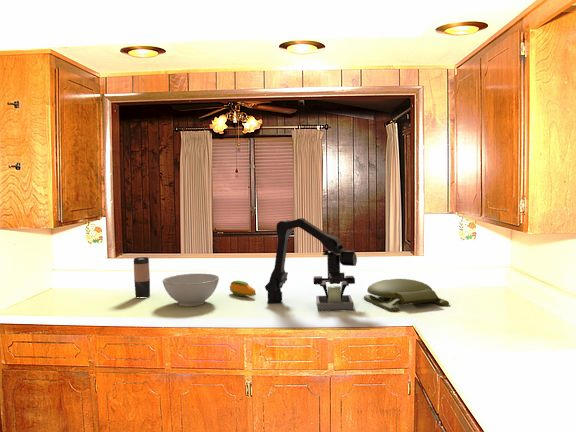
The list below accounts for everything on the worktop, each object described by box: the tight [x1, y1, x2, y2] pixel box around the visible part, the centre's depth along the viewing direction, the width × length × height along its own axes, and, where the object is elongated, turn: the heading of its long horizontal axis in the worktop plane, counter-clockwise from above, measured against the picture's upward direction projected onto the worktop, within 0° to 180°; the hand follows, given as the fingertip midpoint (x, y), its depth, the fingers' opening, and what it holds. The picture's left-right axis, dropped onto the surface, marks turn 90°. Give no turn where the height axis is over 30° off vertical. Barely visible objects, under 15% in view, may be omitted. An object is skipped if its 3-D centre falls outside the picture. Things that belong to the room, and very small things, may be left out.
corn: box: [229, 280, 257, 297], centre depth 293 cm, size 7×8×20 cm
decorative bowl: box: [162, 273, 220, 307], centre depth 279 cm, size 27×27×12 cm
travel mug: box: [133, 256, 151, 298], centre depth 295 cm, size 8×8×20 cm
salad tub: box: [327, 285, 341, 303], centre depth 265 cm, size 6×6×7 cm
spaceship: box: [363, 278, 450, 313], centre depth 273 cm, size 35×31×10 cm
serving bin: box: [315, 294, 355, 312], centre depth 265 cm, size 16×16×4 cm
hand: (334, 298), depth 265 cm, fingers closed on salad tub, 6 cm apart
